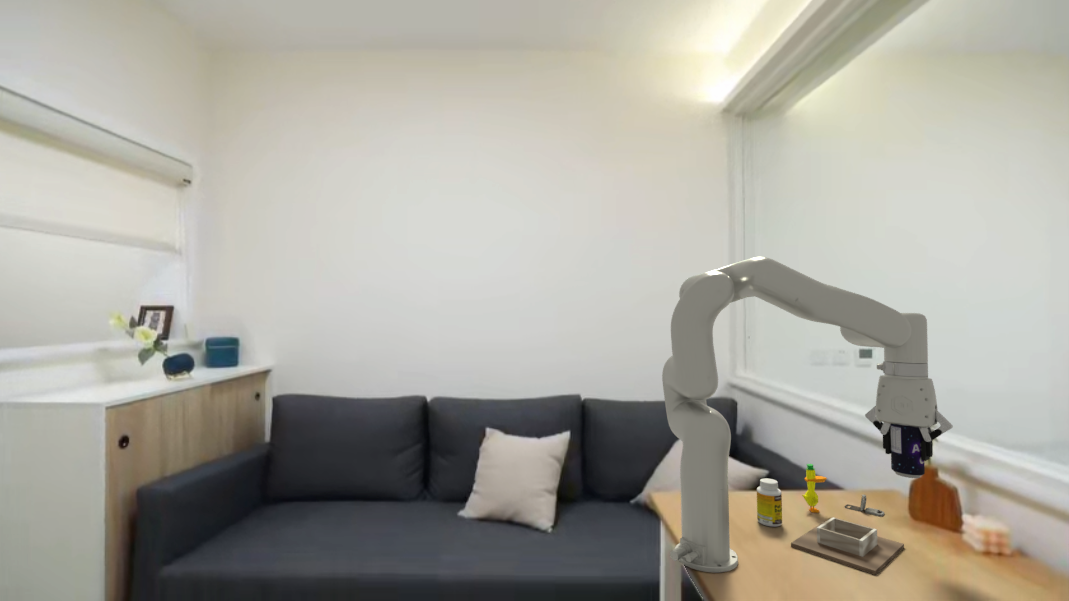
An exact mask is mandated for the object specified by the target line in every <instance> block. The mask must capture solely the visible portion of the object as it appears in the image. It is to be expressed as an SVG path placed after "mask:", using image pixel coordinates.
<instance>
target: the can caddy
mask: <svg viewBox="0 0 1069 601" xmlns="http://www.w3.org/2000/svg"><path fill="white" fill-rule="evenodd" d="M790 547H792V548H794V549H796V550H800V551H803V552H806V553H810V554H812V555H814V556H818V557H821V558H823V557H824V558H823V559H826V558H827V559H826V560H829V559H830V561H832V560H833V561H832V562H836V563H838V564H842V565H845V566H848V567H850V568H853V569H856V570H859V571H862V572H865V573H869V574H870V575H874V576H877V575H878V573H880V571H881V570H882V569H883V568H885V567H886V566H887V565H888V564H889V563H890V562H891V561H892V560H893V559H894V558H895V557H897V555H898V554H899V553H900V552H901V551H903V549H905V543H902V542H899V541H895V540H892V539H889V538H885V537H881V536H878V529H876V528H874V527H871V526H866V525H862V524H858V523H855V522H852V521H848V520H844V519H840V518H838V517H835V516H834V517H833V516H832V517H831V518H829V519H828V520H826V521H823V522H821V523H820V524H818V525H817V526H815V527H813V528H812V529H810V530H809V531H807V532H806V533H804V534H802V535H801V536H799V537H797V538H796V539H794V540H793V541H792V542H791V543H790Z"/></svg>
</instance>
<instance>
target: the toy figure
mask: <svg viewBox="0 0 1069 601" xmlns="http://www.w3.org/2000/svg"><path fill="white" fill-rule="evenodd" d="M805 471H806V472H805V475H806V476H805V477H804V481H805V482H806V485H807V490H806V491H805V493H804V494H801V496H802V497H803V499H804V500H805V502H806V503H807V505H808V506H809V509H808V511H810V512H811V513H814V514H815V513H817V514H818V513H820V509H818V508H816V506H817V505H818V503H819V496H818V493H817V492H816V491H815V490H816V489H815V488H816V483H825V482H826V480H828V478H827V477H826V476H822V475H816V468H815V467H814V464H813V463H806V467H805Z"/></svg>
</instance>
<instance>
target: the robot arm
mask: <svg viewBox="0 0 1069 601" xmlns="http://www.w3.org/2000/svg"><path fill="white" fill-rule="evenodd" d="M678 293H679V294H678V296H679V300H678V302H677V303H676V305H675V307H674V309H673V313H672V315H671V316H672V317H671V320H670V341H671V352H672V355H671V356H670V357H669V358H668V359H667V360H666V361H665V363H664V365H663V367H662V375H661V377H662V378H661V380H662V388H663V396H664V398H663V399H664V405H665V411H666V417H667V423H668V427H669V429H670V430H671V432H672V434H674V436H675V437H677V439H679V440H680V441H681V442H682V450H681V457H680V465H679V468H680V472H679V475H680V476H679V480H680V510H681V512H680V515H681V517H680V520H681V524H680V525H681V538H679V543H678V544H676V545H675V547H674V548H673V550H671V551H670V552H669V556H670V559H672V561H675V562H676V561H678V562H679V563H681V564H682V565H684V566H686V567H687V568H691V569H693V570H696V571H701V572H704V573H705V572H706V573H724V572H725V573H727V572H729V571H732V570H734V569H736V567H737V566H738V565H739V557H738V556H739V555H738V554H737V553H736V551H735V550H733V549H732V548H730V546H731V545H730V544H731V542H730V541H731V540H730V508H729V507H730V506H729V504H730V503H729V501H730V500H729V495H730V494H729V457H730V456H729V455H730V449H731V444H732V443H731V440H732V434H731V429H730V425H729V423H728V421H727V419H726V418H725V417H724V416H723V414H722V413H720V412H719V411H718V410H717V409H715V408H713V407H711V406H708V404H707V402H708V401H707V400H708V399H709V398H712V396H714V395H715V393H716V392H717V390H718V386H719V376H718V369H717V361H716V353H715V347H714V336H713V335H714V334H713V333H714V331H713V330H714V325H715V321H716V319H717V317H718V316H719V314H720V313H721V312H722V311H723V310H725V308H727V307H728V306H729V305H730V304H732V303H734V302H737V301H741V300H743V299H747V298H751V297H752V298H753V297H755V298H757V299H760V300H762V301H764V302H767V303H768V304H771V305H774V307H777V308H780V310H783V311H786V312H788V313H790V314H791V315H793V316H796V317H798V318H800V319H803V320H807V321H811V322H813V323H814V322H816V323H819V324H820V323H821V324H825V325H826V324H828V325H833V326H835V327H836V326H837V327H839V330H840V333H841V336H842V337H843V338H844V340H845V341H847V342H848V343H850V344H852V345H855V346H860V347H866V348H867V347H868V348H881V349H883V359H884V360H883V361H882V362H881V363H876V370H879V371H882V373H883V374H882V375H880V376H879V377H878V384H877V387H876V388H877V389H876V397H875V398H876V400H875V406H873V407H872V408H871V409H870V410H868V411H867V412H866V413H865V414H864V416H865V418H866V419H867V420H868V421H869V422H870V423H872V424H873V426H874V427H875V428H876V429H877V430H878V431H879V433H880V434H881V435H882V448H883V450H885V451H884V452H885V455H891V423H892V424H903V425H908V426H912V427H919V428H920V431H921V433H922V435H923V441H921V460H923V461H924V462H927V461H928V460H930V458H933V455H934V454H933V453H934V452H933V451H934V450H933V441H934V440H935V439H937V438H938V437H940V436H941V435H943V434H945V433H946V432H948V431H949V430H951V429H953V427H954V426H953V424H952V423H951V422H950V421H949V420H948V419H947V418H946V417H945V416H943V414H942V413H941V412H939V410H938V409H939V408H938V403H937V396H936V390H935V389H936V388H935V385H934V381H933V379H932V378H929V364H928V363H929V358H928V356H929V354H928V353H929V352H928V350H929V349H928V346H929V345H928V342H929V341H928V321H927V320H928V319H927V317H926V316H925V315H924V314H923V313H919V312H918V313H917V312H899V311H898V310H896V309H894V308H892V307H890V306H888V305H886V304H884V303H882V302H880V301H877V300H875V299H873V298H870V297H867V296H866V295H865V296H864V295H862V294H859V293H856V292H852V291H849V290H845V289H842V288H840V287H837V286H833V285H830V284H827V283H824V282H821V281H818V280H816V279H814V278H812V277H810V276H808V275H806V274H804V273H801V272H800V271H798V270H795V269H793V268H791V267H789V266H787V265H785V264H783V263H781V262H778V261H777V260H775V259H772V258H769V257H766V256H756V257H755V256H754V257H751V258H748V259H744V260H741V261H738V262H735V263H731V264H729V265H726V266H722V267H720V268H718V269H713V270H710V271H706V272H703V273H700V274H696V275H693V276H690V277H688V278H686V279H685V281H683V282H682V284H681V285H680V288H679V292H678ZM938 424H940V426H939V427H938V428H936V429H934V430H932V426H935V425H938Z"/></svg>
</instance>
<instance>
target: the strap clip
mask: <svg viewBox="0 0 1069 601" xmlns="http://www.w3.org/2000/svg"><path fill="white" fill-rule="evenodd" d="M866 505H867V495H866V494H861V499H860V506H856V505H852V504H845V505H844V506H843V508H844V507H845V509H848V510H851V511H855V512H863V511H864V513H866V514H868V515H872V516H876V517H880V518H881V517H883V516H885V512H884V511H883V510H881V509H878V508H873V507H866Z"/></svg>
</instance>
